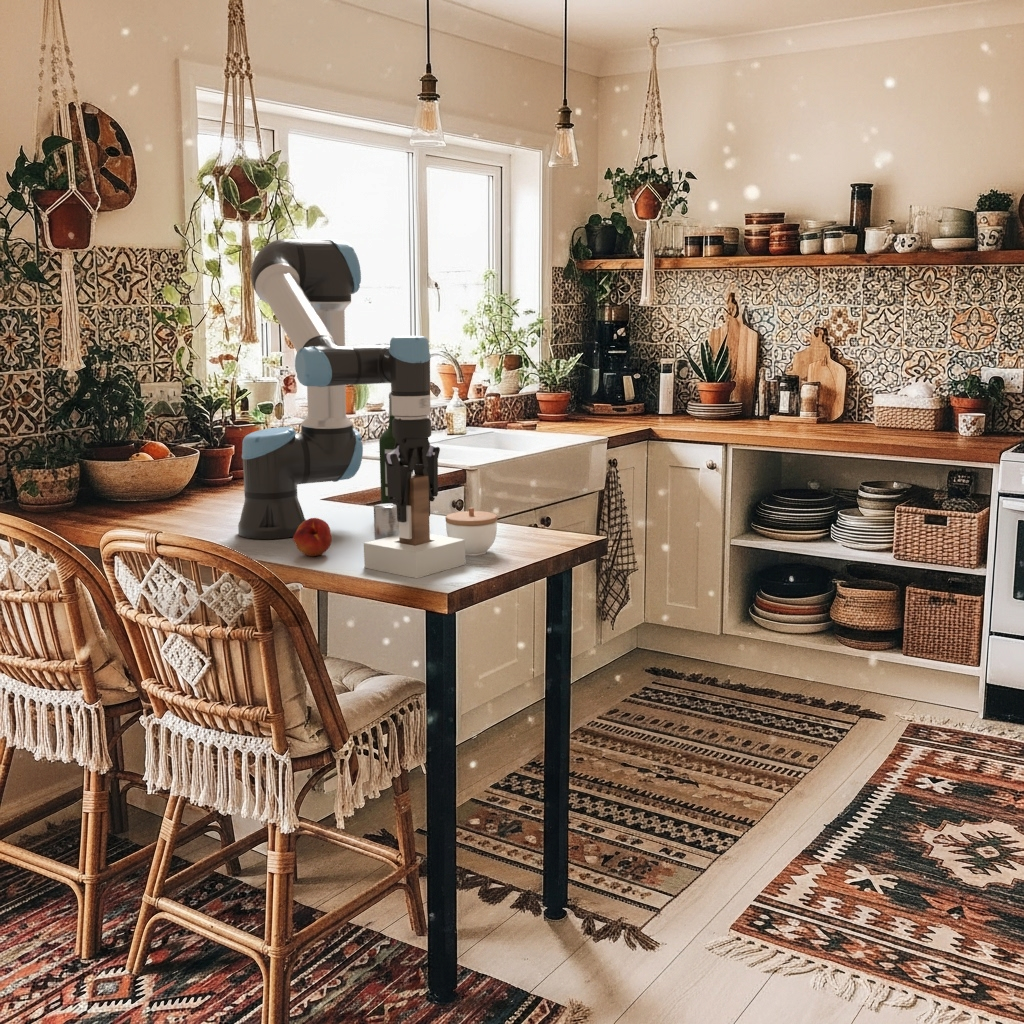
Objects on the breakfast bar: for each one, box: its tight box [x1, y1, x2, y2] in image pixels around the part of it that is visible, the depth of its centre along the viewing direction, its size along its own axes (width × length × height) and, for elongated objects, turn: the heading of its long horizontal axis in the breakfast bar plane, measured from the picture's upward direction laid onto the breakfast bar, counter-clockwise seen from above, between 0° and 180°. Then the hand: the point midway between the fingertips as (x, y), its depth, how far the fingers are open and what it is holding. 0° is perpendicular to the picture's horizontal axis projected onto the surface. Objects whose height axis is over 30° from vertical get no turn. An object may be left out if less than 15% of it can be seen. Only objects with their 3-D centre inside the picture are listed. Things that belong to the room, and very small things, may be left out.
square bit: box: [399, 473, 431, 546], centre depth 222 cm, size 4×4×14 cm
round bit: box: [373, 503, 399, 540], centre depth 234 cm, size 6×6×10 cm
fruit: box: [292, 517, 333, 557], centre depth 233 cm, size 8×8×8 cm
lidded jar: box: [445, 507, 498, 557], centre depth 235 cm, size 11×11×9 cm
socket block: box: [363, 533, 466, 579], centre depth 223 cm, size 14×14×5 cm
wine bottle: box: [378, 391, 414, 504], centre depth 270 cm, size 8×8×30 cm
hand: (414, 535), depth 223 cm, fingers closed on square bit, 4 cm apart
